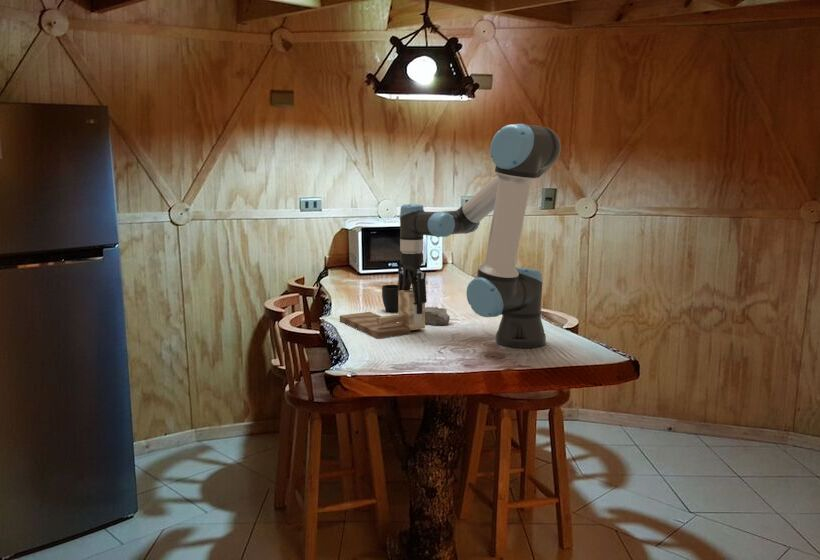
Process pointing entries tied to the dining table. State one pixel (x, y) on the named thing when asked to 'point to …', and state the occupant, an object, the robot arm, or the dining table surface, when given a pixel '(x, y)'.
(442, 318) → the stone
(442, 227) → the robot arm
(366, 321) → the board
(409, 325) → the beige block with bar
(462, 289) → the dining table surface
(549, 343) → the dining table surface
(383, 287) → the mug
